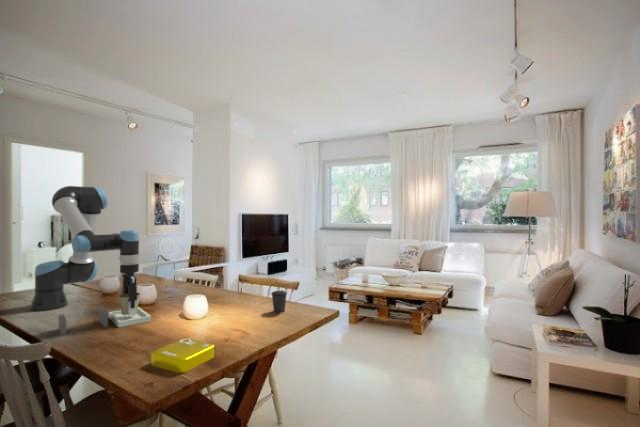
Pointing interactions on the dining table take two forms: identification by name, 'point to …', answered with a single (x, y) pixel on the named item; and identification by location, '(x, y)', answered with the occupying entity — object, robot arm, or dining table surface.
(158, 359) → the element tile
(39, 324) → the dining table surface
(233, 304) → the dining table surface
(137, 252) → the robot arm
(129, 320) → the tray
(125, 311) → the flower pot
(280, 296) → the coffee cup
